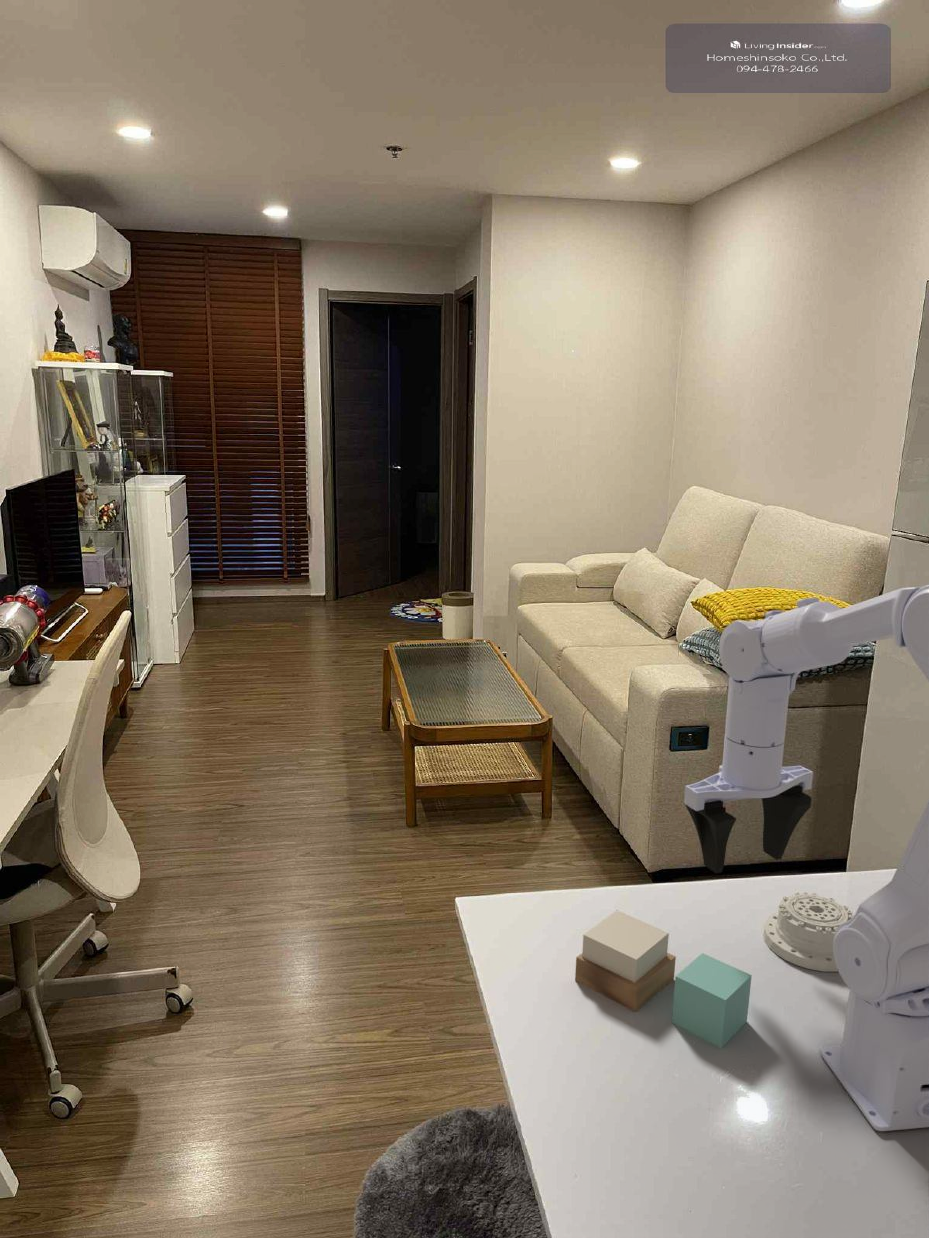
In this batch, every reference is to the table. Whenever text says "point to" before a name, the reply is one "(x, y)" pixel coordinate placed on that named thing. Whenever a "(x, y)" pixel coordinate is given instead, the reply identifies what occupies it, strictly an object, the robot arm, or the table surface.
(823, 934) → the mechanical component
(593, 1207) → the table surface
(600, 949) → the slab top
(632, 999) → the slab base
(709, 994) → the cube
